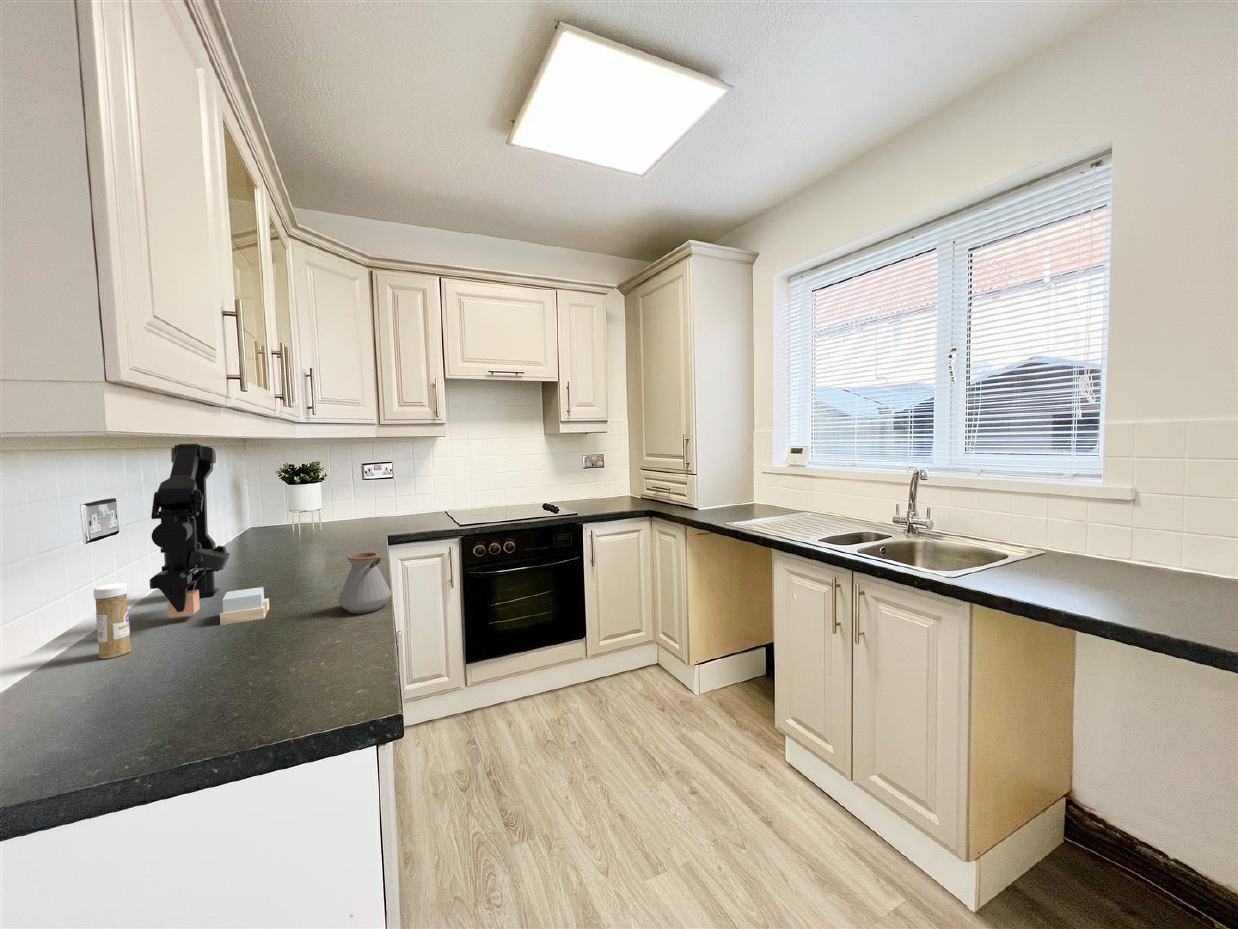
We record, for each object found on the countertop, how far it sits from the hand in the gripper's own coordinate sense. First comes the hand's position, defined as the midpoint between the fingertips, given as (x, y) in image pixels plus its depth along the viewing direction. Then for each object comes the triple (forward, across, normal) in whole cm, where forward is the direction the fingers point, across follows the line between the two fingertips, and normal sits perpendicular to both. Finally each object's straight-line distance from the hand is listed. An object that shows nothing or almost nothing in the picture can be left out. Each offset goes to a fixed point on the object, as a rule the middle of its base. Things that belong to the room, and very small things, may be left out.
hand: (184, 608), depth 115 cm
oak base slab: (+3, -4, -12) cm, 13 cm away
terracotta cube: (+1, 0, 0) cm, 1 cm away
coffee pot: (+3, -16, -38) cm, 41 cm away
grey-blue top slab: (0, -4, -12) cm, 13 cm away
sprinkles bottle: (+3, -18, +6) cm, 19 cm away
